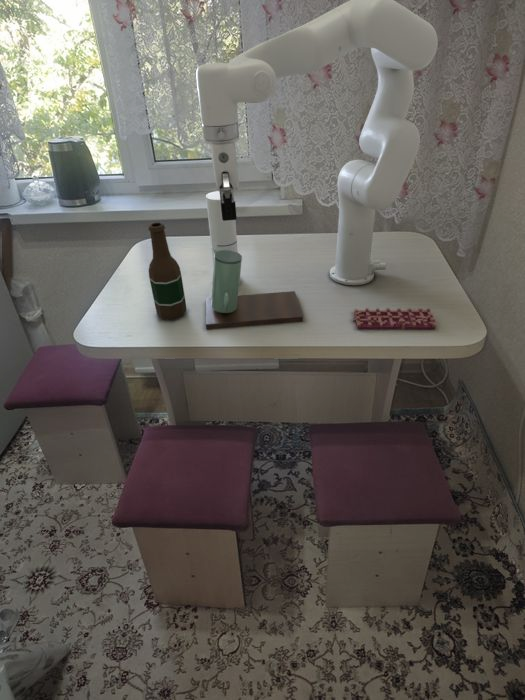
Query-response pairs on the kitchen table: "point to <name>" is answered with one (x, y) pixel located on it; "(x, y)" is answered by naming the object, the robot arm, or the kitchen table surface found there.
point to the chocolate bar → (394, 319)
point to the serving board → (256, 311)
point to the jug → (226, 281)
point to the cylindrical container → (220, 226)
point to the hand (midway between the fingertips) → (228, 212)
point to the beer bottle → (165, 277)
